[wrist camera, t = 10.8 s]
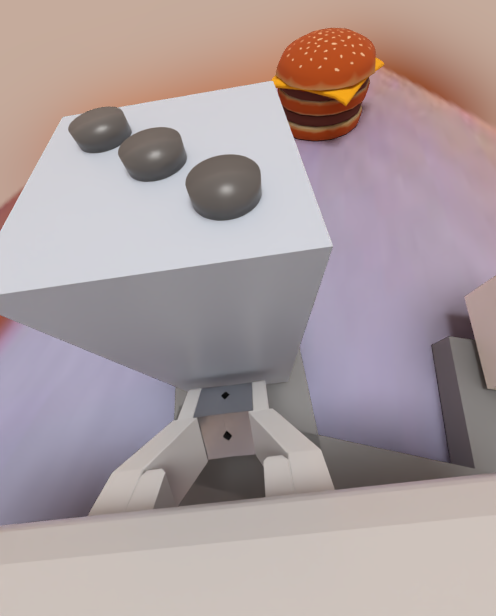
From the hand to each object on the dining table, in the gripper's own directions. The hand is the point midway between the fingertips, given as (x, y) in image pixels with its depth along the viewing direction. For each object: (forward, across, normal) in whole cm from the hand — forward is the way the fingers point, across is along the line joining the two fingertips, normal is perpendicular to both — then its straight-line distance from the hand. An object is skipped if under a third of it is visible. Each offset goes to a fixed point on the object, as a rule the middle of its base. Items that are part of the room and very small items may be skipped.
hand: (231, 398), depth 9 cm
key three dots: (+4, 0, 0) cm, 4 cm away
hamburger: (+24, -11, -17) cm, 32 cm away
